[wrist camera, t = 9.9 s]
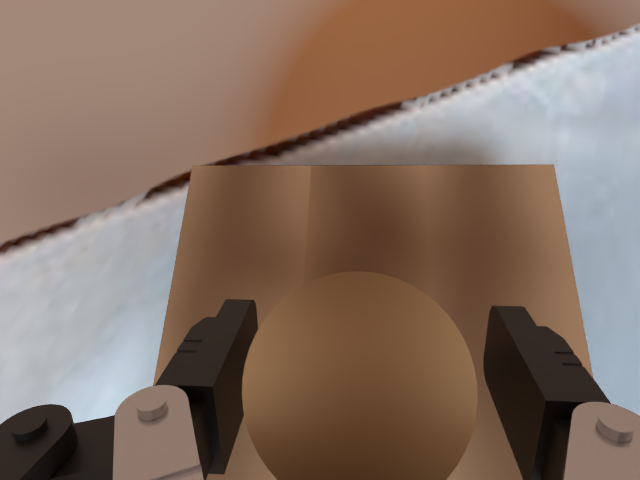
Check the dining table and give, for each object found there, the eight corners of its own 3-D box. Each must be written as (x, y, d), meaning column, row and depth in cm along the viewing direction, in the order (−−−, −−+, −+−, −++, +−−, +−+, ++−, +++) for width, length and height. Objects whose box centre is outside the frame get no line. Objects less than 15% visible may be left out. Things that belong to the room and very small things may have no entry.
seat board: (519, 212, 21) (553, 164, 17) (624, 947, 12) (737, 1161, 9) (219, 210, 22) (192, 165, 19) (122, 880, 14) (35, 1042, 10)
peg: (413, 371, 19) (470, 269, 8) (417, 475, 17) (493, 530, 6) (321, 369, 19) (251, 268, 8) (317, 469, 17) (224, 512, 7)
